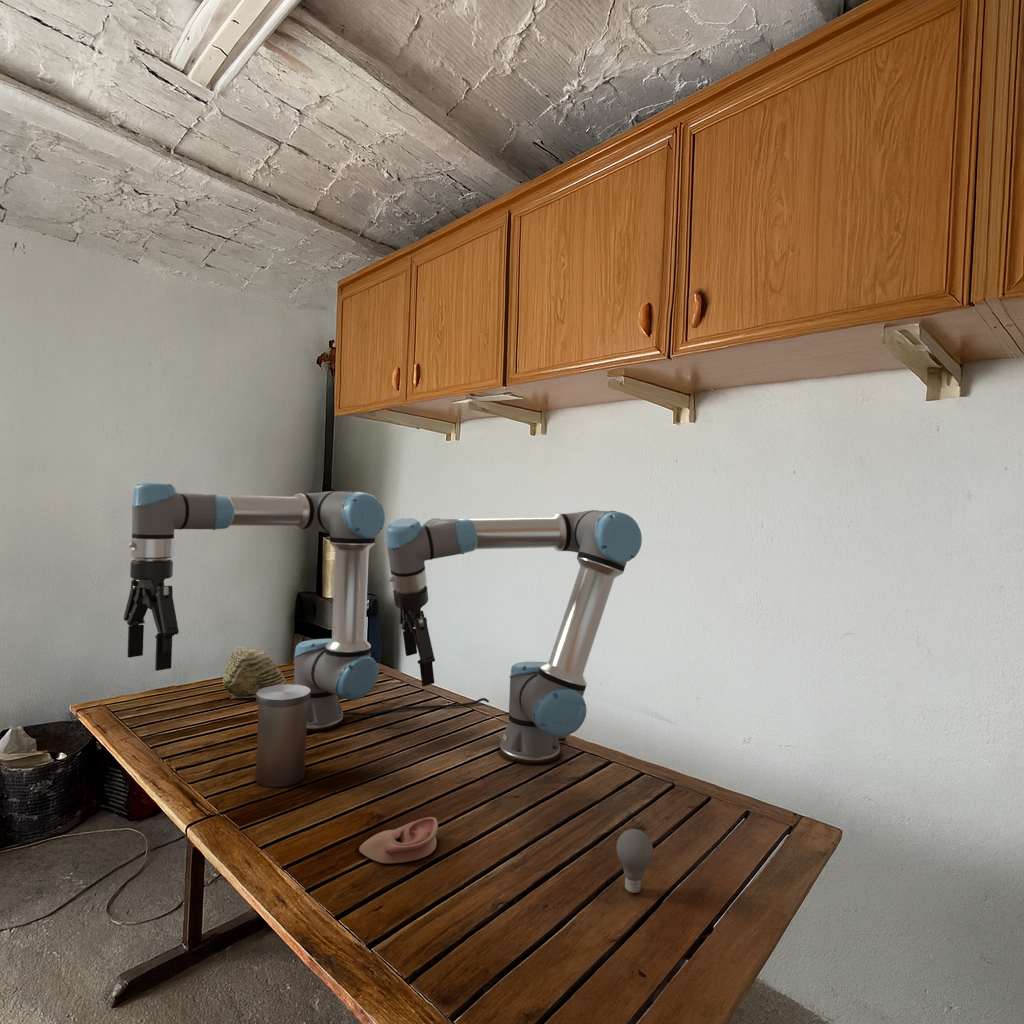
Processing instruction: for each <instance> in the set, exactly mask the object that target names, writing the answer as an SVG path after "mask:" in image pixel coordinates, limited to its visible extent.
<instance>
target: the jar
mask: <svg viewBox="0 0 1024 1024" xmlns="http://www.w3.org/2000/svg"><path fill="white" fill-rule="evenodd" d="M257 704H258V703H257ZM307 706H308V701H306V702H304V703H302V704H298V705H294V706H287V707H269V706H264V705H260V704H258V707H257V708H258V709H257V732H256V733H257V734H256V763H255V782H256V783H257V784H258V785H260V786H263V787H267V788H283V787H288V786H291V785H294V784H297V783H299V782H301V781H302V780H303V779H304V778H305V776H306V757H307V756H306V755H307V733H308V732H307Z"/></svg>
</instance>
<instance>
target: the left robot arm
mask: <svg viewBox="0 0 1024 1024" xmlns="http://www.w3.org/2000/svg"><path fill="white" fill-rule="evenodd" d="M385 515H386V513H385V511H384V508H383V505H382V503H381V502H380V501H379V500H378V498H377V497H375V495H373V494H370V493H367V492H363V491H362V492H361V491H337V490H336V491H335V490H333V491H332V490H330V491H321V492H311V493H295V494H294V495H293V496H276V495H275V496H274V495H273V496H272V495H248V494H247V495H246V494H244V495H243V494H220V493H219V494H218V493H217V494H216V493H215V494H214V493H189V492H187V493H186V492H177V491H176V486H175V485H174V484H173V483H152V482H139V483H137V484H136V485H135V486H134V488H133V492H132V501H131V520H132V521H131V542H130V543H128V547H129V548H130V549H131V550H130V556H131V558H133V559H132V560H131V561H130V567H129V568H130V571H129V574H130V575H129V576H130V578H131V581H130V590H129V594H128V598H127V603H126V607H125V610H124V615H123V621H124V622H126V624H127V626H128V629H127V630H128V631H127V658H135V657H142V656H144V635H145V634H144V630H145V625H144V624H145V623H146V621H145V619H144V618H145V616H146V615H147V612H148V609H149V610H151V613H152V618H153V620H154V624H155V627H156V631H157V633H156V635H155V636H154V638H155V661H154V663H155V665H154V668H155V669H154V670H155V671H157V672H159V671H164V670H169V669H172V659H173V657H172V655H173V637H175V636H176V635H179V632H180V631H179V625H178V619H177V615H176V614H177V613H176V609H175V603H174V597H173V595H174V593H173V585H165V580H167V579H171V578H172V577H173V575H174V573H173V572H174V561H173V560H172V559H171V558H173V557H174V554H175V553H174V552H175V530H213V531H215V530H224V529H228V528H230V526H233V527H234V526H237V527H238V526H240V527H243V526H246V527H247V526H249V527H250V526H258V527H259V526H268V527H269V526H276V527H277V526H282V527H284V526H285V527H286V526H287V527H288V526H289V527H290V526H291V527H293V528H294V529H296V530H308V531H309V530H310V531H316V532H319V533H325V534H329V544H330V545H331V546H332V547H333V548H334V550H335V551H334V572H333V573H334V577H333V599H332V625H331V626H332V627H331V638H317V639H308V640H304V641H300V642H299V643H297V645H296V646H295V650H294V655H293V657H294V672H293V673H294V674H293V684H295V685H302V686H306V687H308V688H309V689H310V699H309V700H308V706H307V732H306V733H316V732H325V731H329V730H332V729H335V728H337V727H339V726H340V725H342V723H343V722H344V715H345V716H364V717H365V716H367V717H368V716H377V715H381V714H385V713H386V714H387V713H389V712H397V711H406V710H407V711H408V710H420V709H441V708H442V709H443V708H453V707H465V706H466V707H467V706H473V705H476V704H478V703H480V702H483V701H484V702H486V703H490V700H489V699H487V698H485V697H481V698H479V699H477V700H475V701H471V702H470V701H469V702H463V703H450V704H437V705H435V704H434V705H416V706H415V705H414V706H402V707H394V708H393V707H392V708H388V709H383V710H379V711H373V712H356V711H343V709H342V706H341V702H340V699H339V698H341V699H342V700H343V699H344V700H348V701H349V700H350V701H357V700H360V699H362V698H364V697H365V696H367V695H368V694H370V692H371V690H372V689H374V687H375V685H376V683H377V682H378V678H379V674H380V672H379V671H380V670H379V669H380V668H379V665H378V663H377V662H376V660H375V659H374V657H371V652H372V649H371V648H372V644H371V643H370V642H368V640H367V639H366V631H367V607H368V606H367V605H368V604H367V602H368V582H369V581H368V579H369V555H370V553H369V552H370V550H371V548H372V547H374V545H375V544H376V536H378V535H379V534H380V533H381V530H383V528H384V526H385V522H386V521H385V520H386V516H385Z"/></svg>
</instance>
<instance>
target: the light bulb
mask: <svg viewBox="0 0 1024 1024" xmlns="http://www.w3.org/2000/svg"><path fill="white" fill-rule="evenodd" d="M615 849H616V854H617V857H618V859H619V861H620V863H621V865H622V867H623V873H624V874H623V875H624V876H625V878H624V888H625V890H627V891H628V892H630V893H634V894H635V893H639V892H640V891H641V889H642V887H641V886H642V879H643V877H644V875H645V871H646V868H647V867H648V866H649V864H650V863H651V861H652V859H653V855H654V847H653V843H652V841H651V838H649V836H648V835H647V834H646V833H645V832H643V831H642V830H641V829H636V828H629V829H627V830H625V831H623V832H622V833H621V834H620V835H619V837H618V839H617V841H616V847H615Z"/></svg>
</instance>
